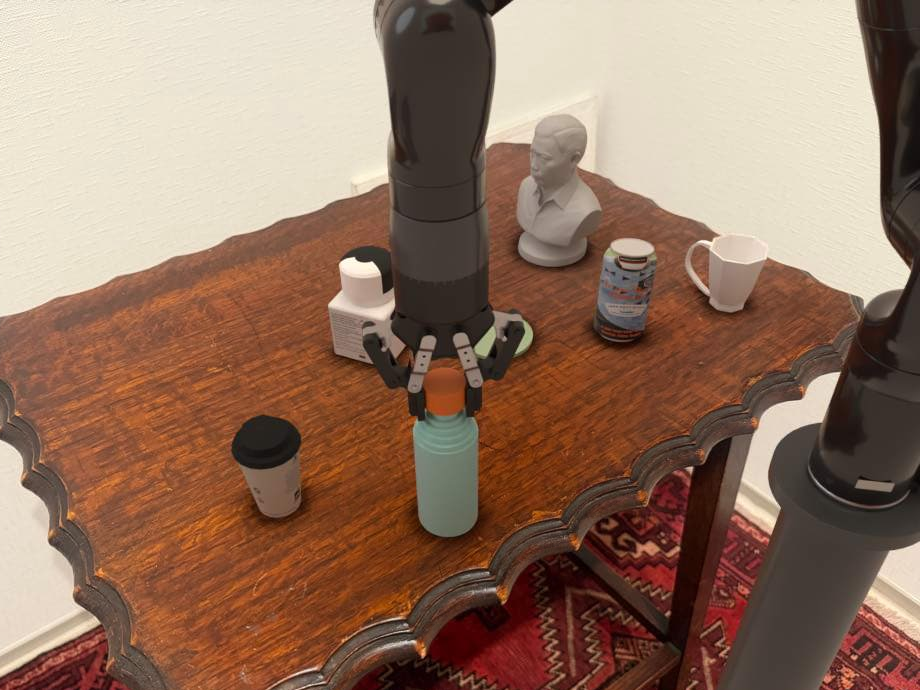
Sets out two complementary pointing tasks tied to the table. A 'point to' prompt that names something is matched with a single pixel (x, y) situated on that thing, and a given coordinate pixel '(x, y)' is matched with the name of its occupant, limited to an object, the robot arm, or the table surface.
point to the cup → (730, 269)
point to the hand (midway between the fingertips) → (445, 412)
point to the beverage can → (625, 289)
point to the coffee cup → (270, 463)
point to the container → (362, 300)
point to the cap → (444, 391)
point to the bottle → (446, 472)
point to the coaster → (488, 339)
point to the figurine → (556, 196)
